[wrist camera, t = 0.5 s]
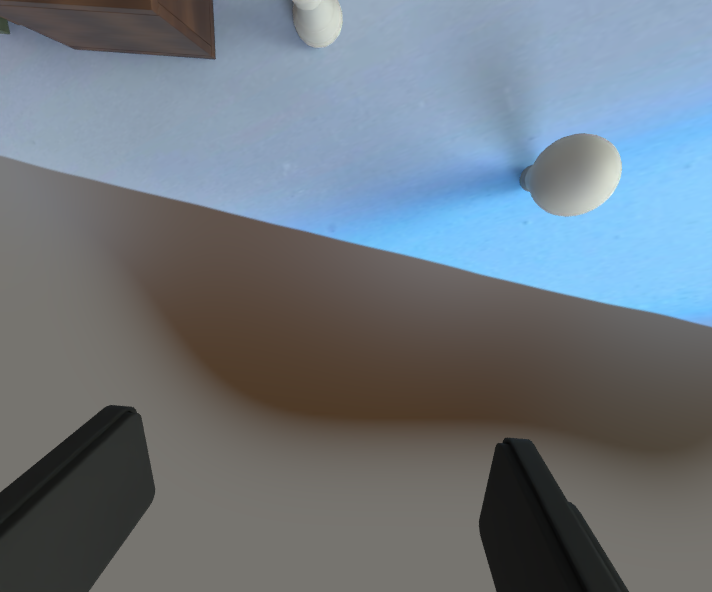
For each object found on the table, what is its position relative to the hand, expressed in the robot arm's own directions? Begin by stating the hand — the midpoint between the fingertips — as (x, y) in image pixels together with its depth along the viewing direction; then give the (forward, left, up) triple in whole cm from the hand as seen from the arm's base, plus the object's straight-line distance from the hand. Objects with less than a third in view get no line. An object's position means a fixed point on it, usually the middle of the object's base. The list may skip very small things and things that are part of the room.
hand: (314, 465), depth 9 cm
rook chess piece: (-21, -6, -30) cm, 37 cm away
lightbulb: (-9, +16, -30) cm, 35 cm away
